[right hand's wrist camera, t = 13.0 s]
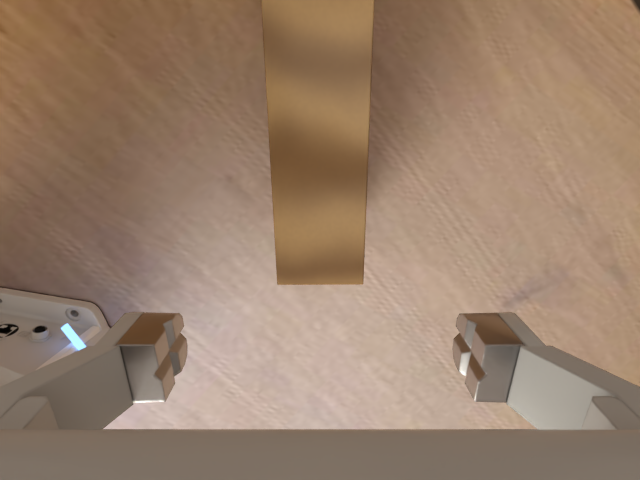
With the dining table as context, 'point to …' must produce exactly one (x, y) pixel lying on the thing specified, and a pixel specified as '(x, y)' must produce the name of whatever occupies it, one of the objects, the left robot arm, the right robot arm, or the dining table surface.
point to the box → (318, 135)
